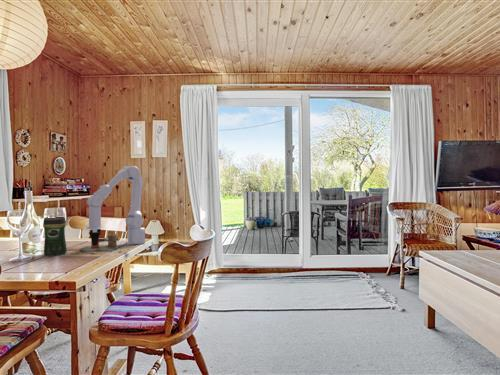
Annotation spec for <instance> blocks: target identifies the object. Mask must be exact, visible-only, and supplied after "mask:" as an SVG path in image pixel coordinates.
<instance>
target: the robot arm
mask: <svg viewBox="0 0 500 375" xmlns="http://www.w3.org/2000/svg"><path fill="white" fill-rule="evenodd" d="M124 179H128V180H129V181H130V182H131V184H132V188H131V199H130V209H129V211H128V213H127V215H126V218H125V224H126V225H127V241H126V244H127V245H128V246H129V245H141V244H142V245H143V244H146V228H145V227H142V226H143V224H144V220H143V214H142V212H141V206H142V205H141V204H142V193H143V183H144V181H143V180H144V179H143V177H142V174H141V169H140V168H138V167H137V166H136V165H130V166H129V165H125V166H123V167H122V168H121V169H119V170H118V172H117V173H116V174H115V176H114V177H112V178H111V180H110V181H108V182H107V184H103V185H100V186H99V188H98V189H97V190H96V191H95V192H93V193H92V195H90V196H89V197H88V198H87V200H86V204H87V205H88V226H87V227H86V230H88V229H89V232H88V234H89V236H90V239H91V240H92V245H93V246H97V244H98V239H100V235H101V233H102V231H101V228H102V214H101V213H102V209H101V208H102V207H101V206H102V205H103V202H104V200H106V199H107V197H108V196H109V195H111V193H112V192H113V191H112V190H113V188H114V187H115V186H116V185H118V184H119V183H120V182H121V181H122V180H124ZM91 240H90V241H91Z"/></svg>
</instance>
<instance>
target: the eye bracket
mask: <svg viewBox="0 0 500 375" xmlns="http://www.w3.org/2000/svg"><path fill="white" fill-rule="evenodd" d="M117 237H118V236H117V233H114V232H113V233H107V238H108V241H107V244H99V247H97V248H91V245H84V246H83V245H82V247H81V253H89V252H100V251H112V250H113V251H115V250H119V247H118V241H117Z"/></svg>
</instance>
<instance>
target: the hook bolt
mask: <svg viewBox="0 0 500 375" xmlns="http://www.w3.org/2000/svg"><path fill="white" fill-rule="evenodd" d="M119 241H121V237H120V236H119V237H118V236H117V242H119ZM104 242H107V243H108V237H106V238H104V237H101V238H100V237H99V239H98V244H97V246H93V245H92V240H90V244H91V245H90V246H91V248H97V247H99V245H100V243H104Z"/></svg>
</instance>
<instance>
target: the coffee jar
mask: <svg viewBox="0 0 500 375" xmlns="http://www.w3.org/2000/svg"><path fill="white" fill-rule="evenodd" d="M48 217H49V216H47V217H44V219H43V223H42V226H43V229H44V244H43V255H44V256H49V257H51V256H61V255H63V254H66V253H67V251H68V249H67V241H66V235H65V234H66V232H65V231H66V230H65V228H66V226H67V221H66V217H65V216H64V217H56V218H48Z"/></svg>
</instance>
